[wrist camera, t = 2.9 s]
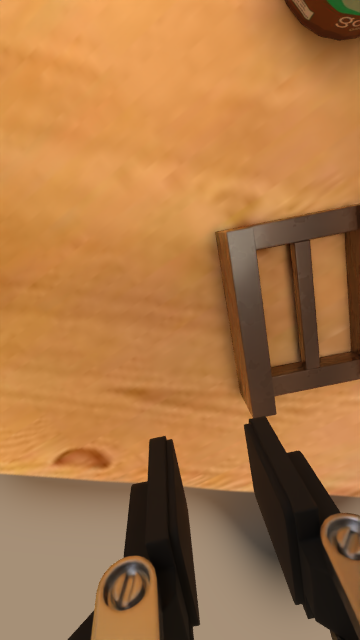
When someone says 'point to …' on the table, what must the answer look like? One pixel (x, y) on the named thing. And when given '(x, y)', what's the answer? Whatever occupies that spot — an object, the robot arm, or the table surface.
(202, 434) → the table surface
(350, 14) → the food container
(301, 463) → the robot arm
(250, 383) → the plate rack
